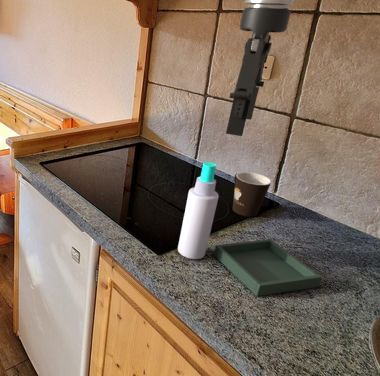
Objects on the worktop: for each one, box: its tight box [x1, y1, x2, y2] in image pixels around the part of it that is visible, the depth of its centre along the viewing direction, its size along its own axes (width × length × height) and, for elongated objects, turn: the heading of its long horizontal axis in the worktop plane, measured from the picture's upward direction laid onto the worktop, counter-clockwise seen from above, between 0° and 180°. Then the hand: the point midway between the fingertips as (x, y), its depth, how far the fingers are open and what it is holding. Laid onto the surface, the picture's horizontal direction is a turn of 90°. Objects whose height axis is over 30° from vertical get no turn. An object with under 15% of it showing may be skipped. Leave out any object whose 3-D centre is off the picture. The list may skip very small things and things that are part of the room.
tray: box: [213, 238, 322, 297], centre depth 87 cm, size 15×15×3 cm
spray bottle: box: [177, 161, 219, 260], centre depth 89 cm, size 6×6×22 cm
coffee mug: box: [232, 171, 272, 218], centre depth 112 cm, size 12×9×10 cm
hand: (239, 126), depth 79 cm, fingers open, 13 cm apart
